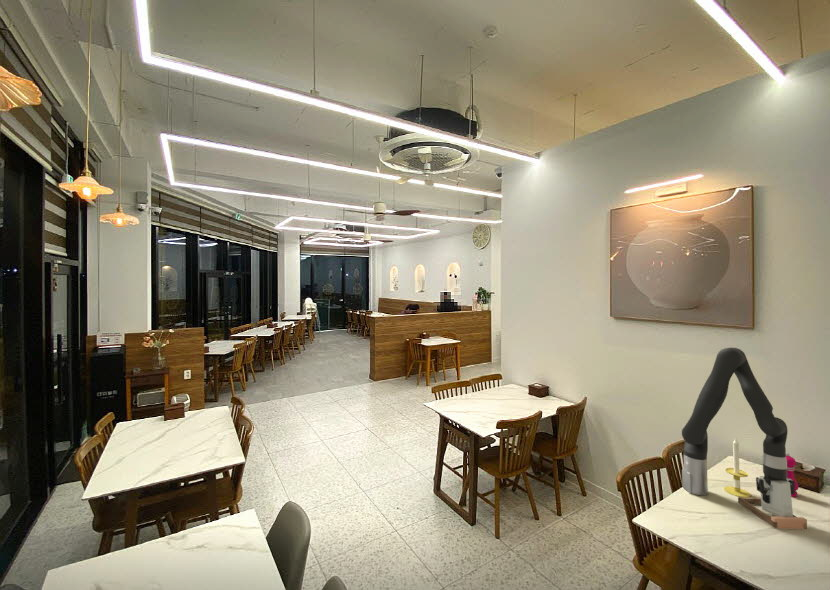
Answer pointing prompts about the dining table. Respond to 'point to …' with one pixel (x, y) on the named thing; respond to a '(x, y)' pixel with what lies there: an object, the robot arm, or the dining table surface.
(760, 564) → the dining table surface
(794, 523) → the stop block
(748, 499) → the guide channel
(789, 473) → the pepper mill
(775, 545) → the dining table surface
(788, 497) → the skincare box
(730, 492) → the candle
